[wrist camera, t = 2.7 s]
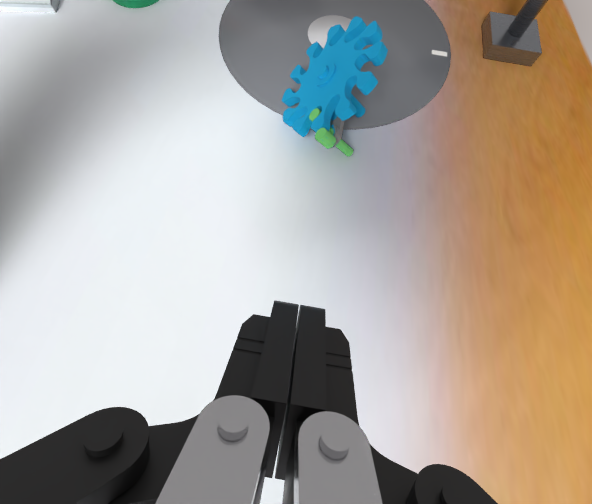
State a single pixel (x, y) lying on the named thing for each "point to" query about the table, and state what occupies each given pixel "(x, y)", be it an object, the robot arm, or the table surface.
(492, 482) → the table surface
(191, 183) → the table surface
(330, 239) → the table surface
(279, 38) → the turntable
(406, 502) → the robot arm
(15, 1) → the hard drive
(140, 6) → the magnifying glass
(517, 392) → the table surface
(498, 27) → the indicator stand
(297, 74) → the gear
